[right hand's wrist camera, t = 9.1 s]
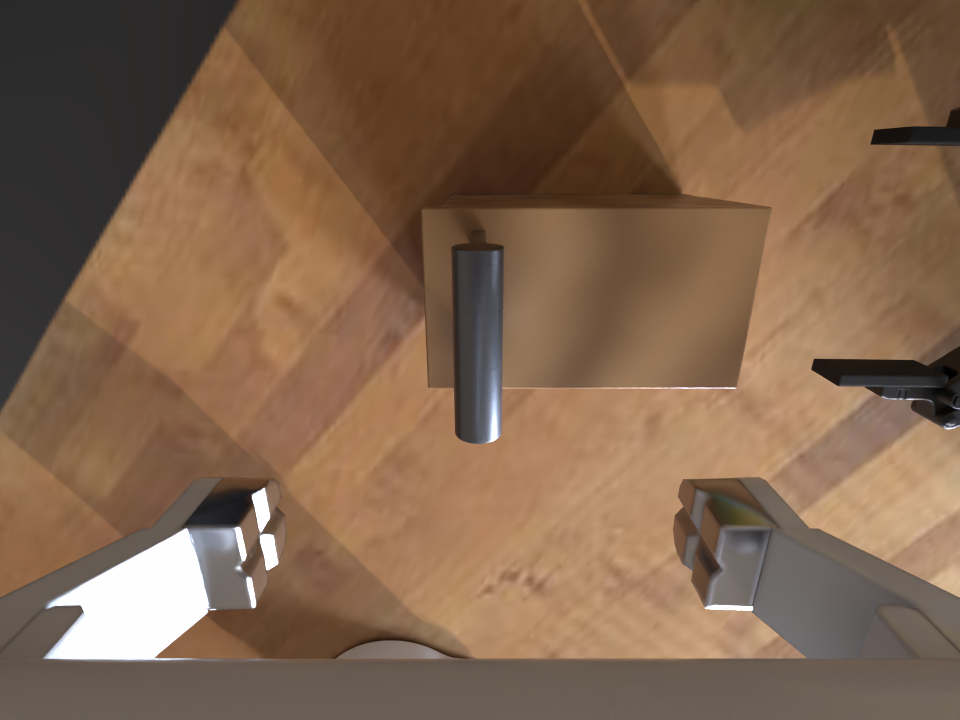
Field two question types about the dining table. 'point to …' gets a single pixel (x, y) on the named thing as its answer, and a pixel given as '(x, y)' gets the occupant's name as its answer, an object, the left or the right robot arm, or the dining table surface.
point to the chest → (585, 200)
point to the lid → (585, 299)
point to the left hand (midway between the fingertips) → (854, 263)
